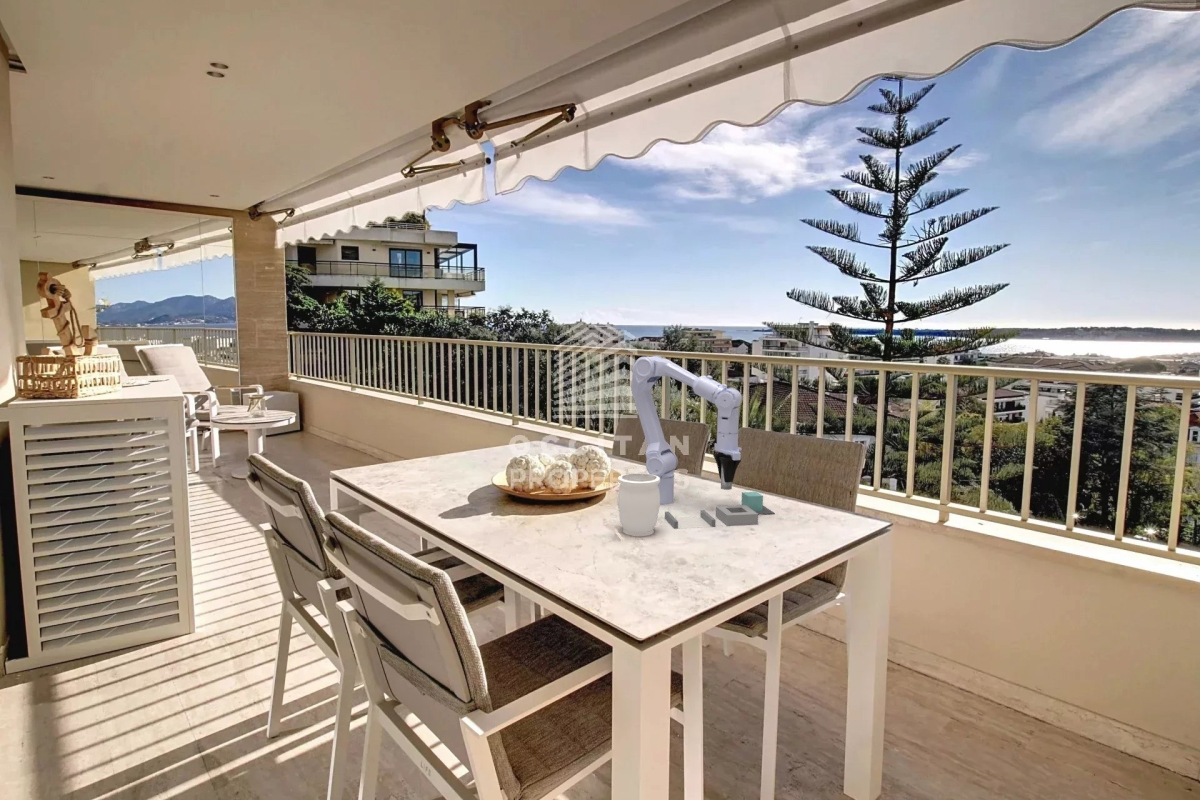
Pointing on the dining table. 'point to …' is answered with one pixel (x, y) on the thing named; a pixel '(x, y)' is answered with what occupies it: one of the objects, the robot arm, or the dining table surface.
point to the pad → (765, 511)
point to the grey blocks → (724, 513)
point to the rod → (725, 484)
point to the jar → (638, 503)
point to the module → (753, 500)
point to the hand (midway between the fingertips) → (726, 480)
